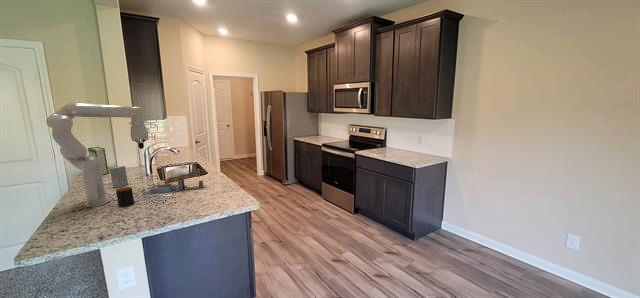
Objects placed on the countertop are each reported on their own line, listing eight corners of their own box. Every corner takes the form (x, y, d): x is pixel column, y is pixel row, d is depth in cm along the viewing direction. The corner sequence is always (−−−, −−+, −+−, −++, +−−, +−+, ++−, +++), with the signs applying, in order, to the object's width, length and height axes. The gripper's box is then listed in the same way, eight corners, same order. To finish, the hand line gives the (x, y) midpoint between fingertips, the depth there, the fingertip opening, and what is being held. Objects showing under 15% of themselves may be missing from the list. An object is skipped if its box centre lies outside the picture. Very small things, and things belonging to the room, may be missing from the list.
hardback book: (108, 174, 248) (104, 148, 243) (99, 176, 242) (94, 149, 237) (101, 171, 258) (97, 146, 253) (92, 173, 252) (87, 148, 247)
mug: (119, 209, 166) (117, 193, 164) (118, 204, 175) (115, 189, 173) (135, 206, 171) (133, 190, 169) (133, 201, 180) (131, 186, 178)
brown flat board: (202, 170, 217) (200, 165, 216) (199, 175, 201) (197, 170, 200) (169, 178, 211) (168, 173, 210) (164, 184, 195) (162, 179, 194)
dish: (169, 192, 197) (169, 187, 196) (150, 194, 193) (149, 189, 192) (172, 188, 205) (171, 183, 204) (153, 190, 201) (153, 185, 200)
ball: (152, 187, 195) (153, 192, 196) (157, 186, 196) (158, 191, 197) (153, 186, 198) (154, 190, 199) (158, 185, 199) (159, 189, 200)
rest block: (202, 188, 204) (201, 182, 203) (199, 188, 204) (198, 182, 203) (203, 186, 209) (202, 180, 208) (199, 186, 208) (199, 180, 208)
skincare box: (121, 188, 208) (117, 168, 205) (112, 188, 208) (108, 168, 205) (128, 184, 216) (126, 165, 213) (120, 184, 216) (117, 165, 213)
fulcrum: (187, 186, 209) (186, 175, 208) (184, 191, 198) (183, 180, 196) (179, 187, 207) (177, 176, 206) (175, 192, 196) (174, 181, 195)
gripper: (124, 124, 191) (127, 150, 194) (148, 123, 195) (151, 148, 198) (128, 123, 198) (131, 148, 201) (151, 122, 202) (154, 146, 206)
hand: (141, 148), depth 200 cm, fingers closed
